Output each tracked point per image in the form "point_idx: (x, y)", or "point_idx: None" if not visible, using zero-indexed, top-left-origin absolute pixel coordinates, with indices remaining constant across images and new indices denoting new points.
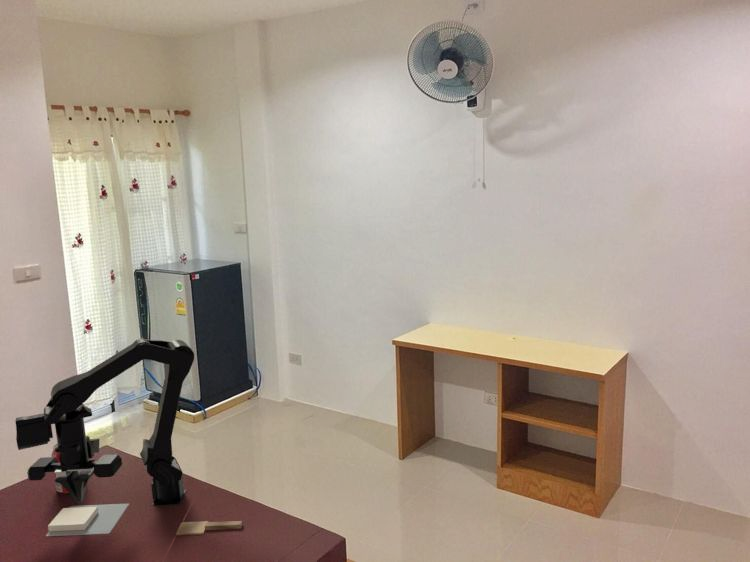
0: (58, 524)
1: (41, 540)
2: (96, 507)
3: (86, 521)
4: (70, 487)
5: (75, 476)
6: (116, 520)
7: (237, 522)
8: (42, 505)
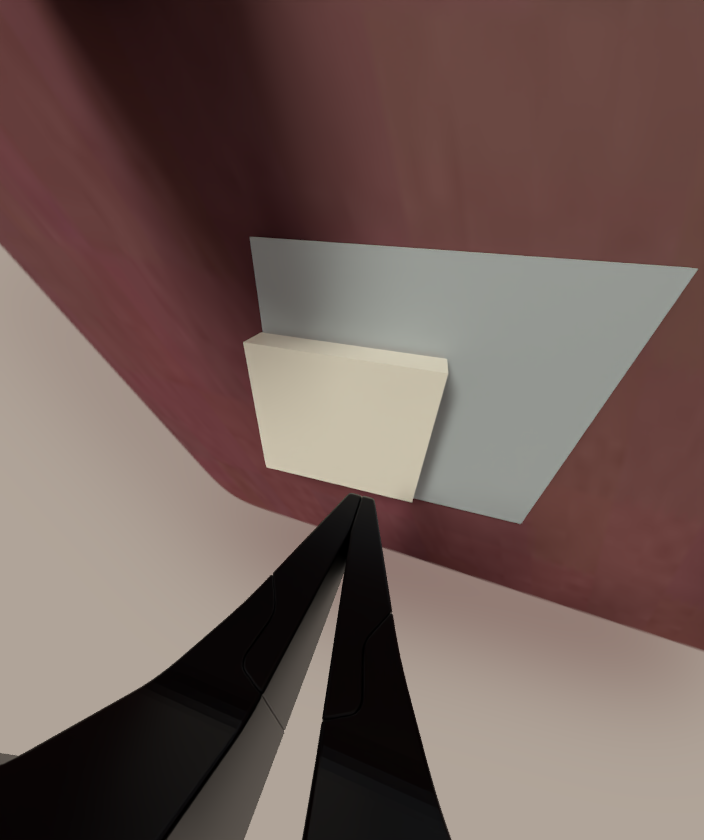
0: (302, 471)
1: None
2: (442, 383)
3: (416, 486)
4: (286, 717)
5: (231, 785)
6: (559, 454)
7: None
8: (80, 177)
